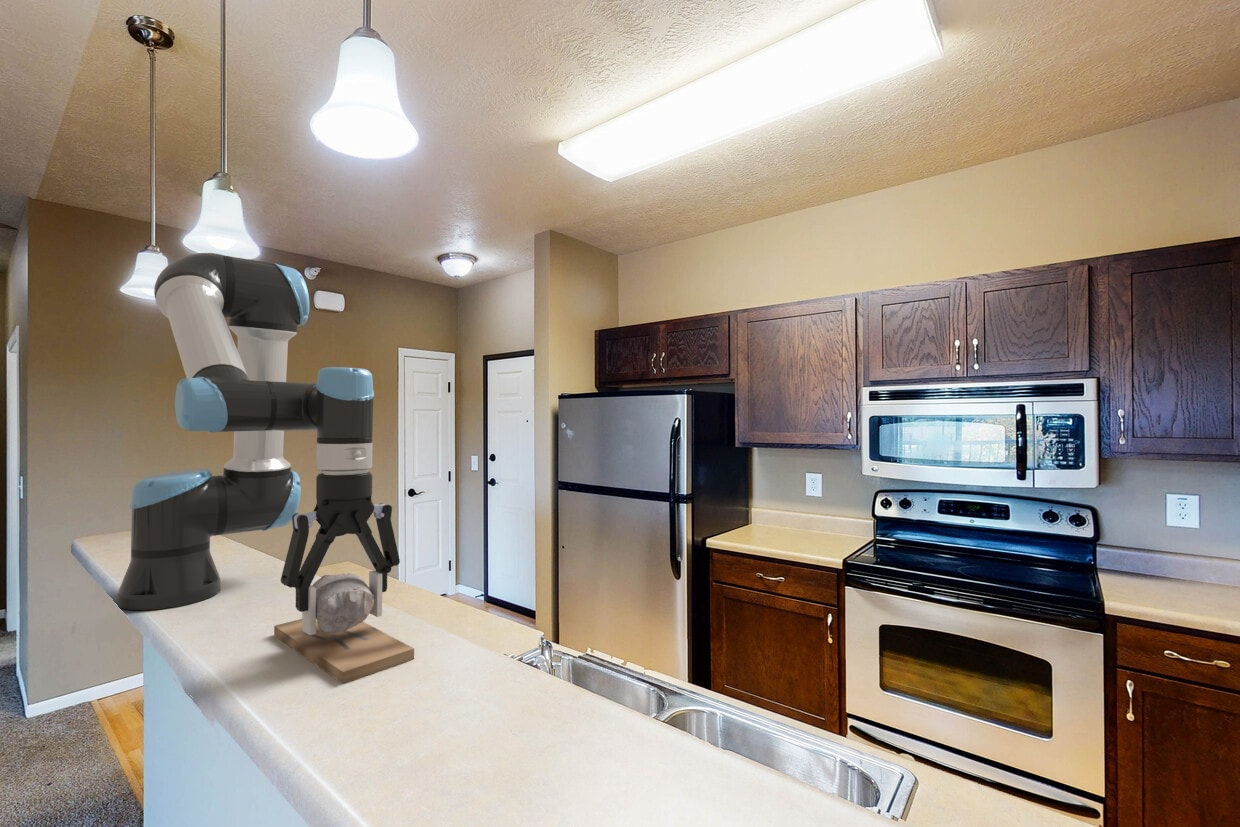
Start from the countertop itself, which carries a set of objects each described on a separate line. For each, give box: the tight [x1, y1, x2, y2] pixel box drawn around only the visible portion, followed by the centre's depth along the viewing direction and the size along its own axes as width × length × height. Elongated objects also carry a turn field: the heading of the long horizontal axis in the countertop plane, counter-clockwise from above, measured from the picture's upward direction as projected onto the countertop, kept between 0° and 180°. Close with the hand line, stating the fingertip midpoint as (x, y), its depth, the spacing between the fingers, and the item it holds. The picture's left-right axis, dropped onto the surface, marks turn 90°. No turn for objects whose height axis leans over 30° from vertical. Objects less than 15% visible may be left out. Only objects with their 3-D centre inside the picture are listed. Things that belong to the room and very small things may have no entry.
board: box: [273, 618, 415, 684], centre depth 86 cm, size 24×10×2 cm, turn 50°
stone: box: [311, 573, 374, 633], centre depth 85 cm, size 8×12×7 cm, turn 36°
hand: (343, 622), depth 85 cm, fingers closed on stone, 9 cm apart
